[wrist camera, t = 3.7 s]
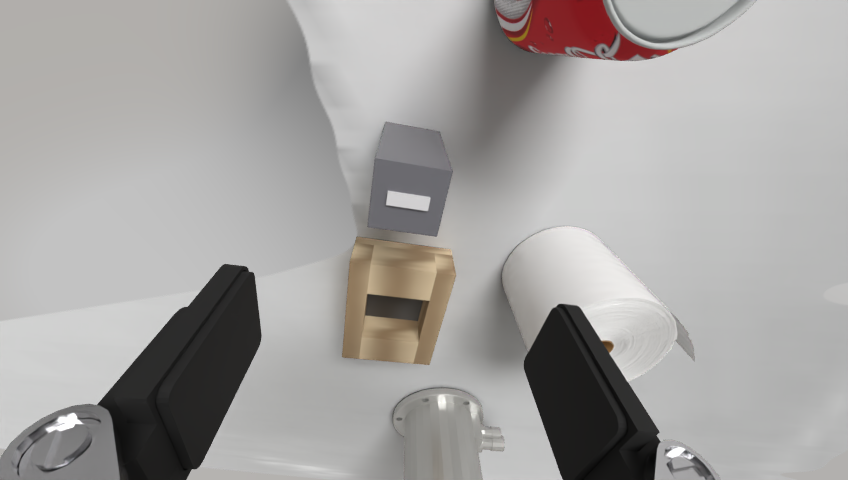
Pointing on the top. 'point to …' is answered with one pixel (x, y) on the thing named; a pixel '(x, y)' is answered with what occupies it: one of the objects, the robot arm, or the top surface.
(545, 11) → the soda can
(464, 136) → the top surface
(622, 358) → the toilet tissue
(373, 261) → the bamboo dock
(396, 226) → the block
